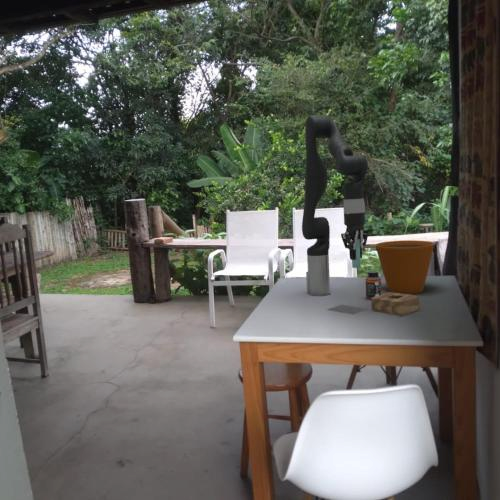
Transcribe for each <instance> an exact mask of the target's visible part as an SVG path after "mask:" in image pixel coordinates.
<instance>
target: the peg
mask: <svg viewBox="0 0 500 500" xmlns="http://www.w3.org/2000/svg"><path fill="white" fill-rule="evenodd" d="M351 241H354V240H351ZM351 244H352V246H353V243H351ZM355 250H356V260H351V267H352V269H359V268H361V264H362V263H361V258H360V240H357V243H356V248H355Z"/></svg>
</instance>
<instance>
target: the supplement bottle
mask: <svg viewBox="0 0 500 500" xmlns="http://www.w3.org/2000/svg"><path fill="white" fill-rule="evenodd" d="M367 275H368V276H366V277H365V299H366V300H369V301H371V298H373V297H376V296H379V295H382V279H381V276H379V271H377V270H371V271H370V270H369V271H368V272H367Z"/></svg>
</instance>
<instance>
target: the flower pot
mask: <svg viewBox="0 0 500 500" xmlns="http://www.w3.org/2000/svg"><path fill="white" fill-rule="evenodd" d="M434 248H435V243H434V242H432V241H427V240H414V239H413V240H409V239H408V240H391V241H383V242H378V243H375V250H376V253H377V255H378V259H379V262H380V267H381V270H382V274H383V277H384V280H385V284H386V288H387V290H388V291H389V292H394V293H401V294H417V293H418V294H419V293H422V292H424V289H425V284H426V281H427V277H428V272H429V268H430V264H431V260H432V256H433V252H434Z"/></svg>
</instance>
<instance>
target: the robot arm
mask: <svg viewBox="0 0 500 500" xmlns="http://www.w3.org/2000/svg"><path fill="white" fill-rule="evenodd" d="M304 125H305V126H304V127H305V128H304V130H305V131H304V132H305V172H304V206H303V212H302V213H303V214H302V221H301V222H302V223H301V233H302V236H303V238H304V239H305V240H308V241H309V240H316V241H315V243H313V245H311V246H309V247H307V249H306V261H307V271H306V272H305V274H306V276H305V277H306V293H307V295H311V296H316V297H317V296H318V297H319V296H320V297H321V296H328V295H329V294H331V284H330V283H331V281H330V280H331V279H330V275H331V274H330V258H329V255H330V254H329V253H330V247H331V246H330V245H331V244H330V238H331V235H330V233H331V228H330V222H329V220H328V218H327V217H325V216H318V217H316V216H315V214H316V210H317V209H316V208H317V206H318V204H319V202H320V201H321V199H322V197H323V196H324V194H325V192H326V190H327V188H328V168H327V167H326V164H325V162H324V161H323V159H322V158H321V156H320V154H319V151H318V148H317V140H318V139H329V141H328V145H327V146H328V147H327V148H328V152H329V153H330V155H331V156H332V158H333V159H334V160H335V163H336V167H337V171H338V173H339V175H342V176H345V177H350V176H354V179H353V180H352V181H350V182H346V183H345V184H344V185H343V224H344V226H346V227H345V228H346V229H345V232H344V233H341V234H340V237H341V239H342V242H343V245H344V246H343V247H344V248H345V249H348V250H349V260H351V261H352V260H356V250H355V248H356V243H357V240H360V259H363V248H364V247H366V245H367V242H368V237H369V232H370V231H369V230H367V229H365V227H364V225H366V207H365V206H366V205H365V197H364V194H365V193H364V185H365V183H366V182H365V181H366V176H367V172H368V167H369V164H368V160H367V158H366V157H365V156H364V155H362V154H359V155H354V151H353V149H352V147H351V146H350V145H349V143H347V141H346V140H345V139H344V137H343V135H342V134H341V132H340V129H339V127H338V125H337V123H336V121H335V119H334V118H333V116H331V115H329V114H310V115H308V116H307V118H306V121H305V124H304ZM351 240H354V241H351ZM351 243H353V246H352V244H351Z"/></svg>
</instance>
